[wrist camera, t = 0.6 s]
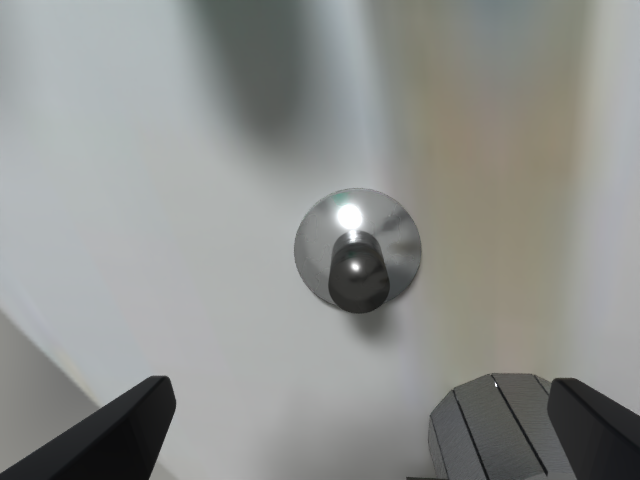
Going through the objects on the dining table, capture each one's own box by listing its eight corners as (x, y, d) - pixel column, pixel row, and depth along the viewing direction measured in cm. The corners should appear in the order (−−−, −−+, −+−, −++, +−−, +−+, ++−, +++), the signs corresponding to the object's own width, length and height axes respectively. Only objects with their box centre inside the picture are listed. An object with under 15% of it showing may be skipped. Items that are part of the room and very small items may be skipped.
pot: (634, 375, 21) (753, 480, 15) (597, 484, 24) (682, 607, 18) (396, 371, 22) (415, 466, 16) (393, 475, 26) (407, 586, 19)
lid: (420, 185, 18) (446, 207, 13) (414, 299, 20) (434, 352, 16) (291, 189, 19) (273, 212, 14) (300, 300, 21) (287, 351, 16)
